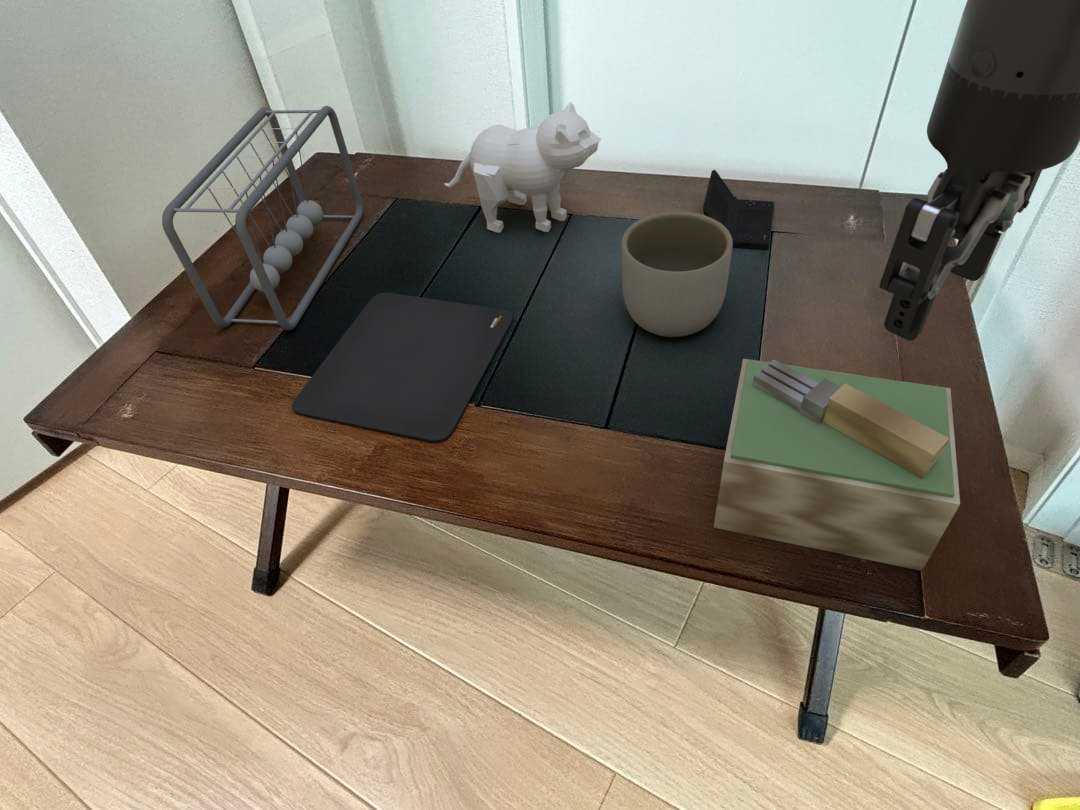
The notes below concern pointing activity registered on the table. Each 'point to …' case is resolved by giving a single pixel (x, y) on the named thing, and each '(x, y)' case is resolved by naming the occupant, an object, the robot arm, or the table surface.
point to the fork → (856, 417)
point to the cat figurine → (528, 164)
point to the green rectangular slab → (820, 448)
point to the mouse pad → (406, 366)
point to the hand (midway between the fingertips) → (933, 302)
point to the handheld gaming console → (739, 215)
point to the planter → (675, 271)
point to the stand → (832, 507)
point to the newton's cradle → (296, 227)
